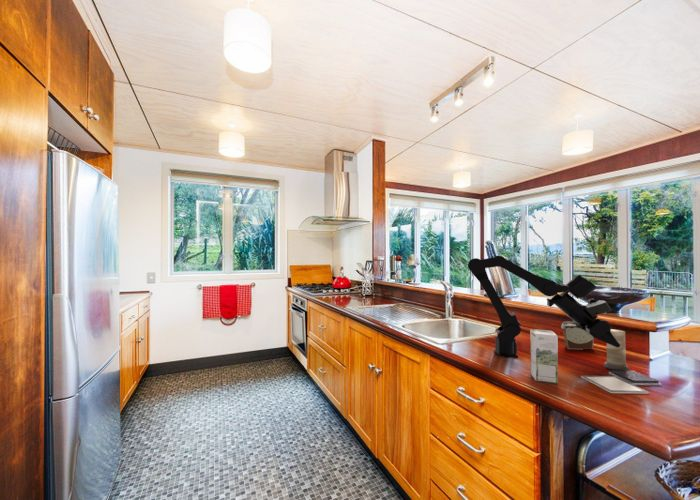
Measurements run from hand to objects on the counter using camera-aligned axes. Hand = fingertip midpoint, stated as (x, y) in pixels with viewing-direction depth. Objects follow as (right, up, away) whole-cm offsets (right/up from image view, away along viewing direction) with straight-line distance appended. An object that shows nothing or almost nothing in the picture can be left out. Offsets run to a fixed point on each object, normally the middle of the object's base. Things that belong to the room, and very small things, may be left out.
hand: (612, 342), depth 95 cm
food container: (+5, -9, +22) cm, 25 cm away
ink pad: (-2, -8, -9) cm, 12 cm away
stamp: (+1, -9, -1) cm, 9 cm away
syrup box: (-29, -8, -9) cm, 32 cm away
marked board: (-12, -8, -13) cm, 19 cm away
